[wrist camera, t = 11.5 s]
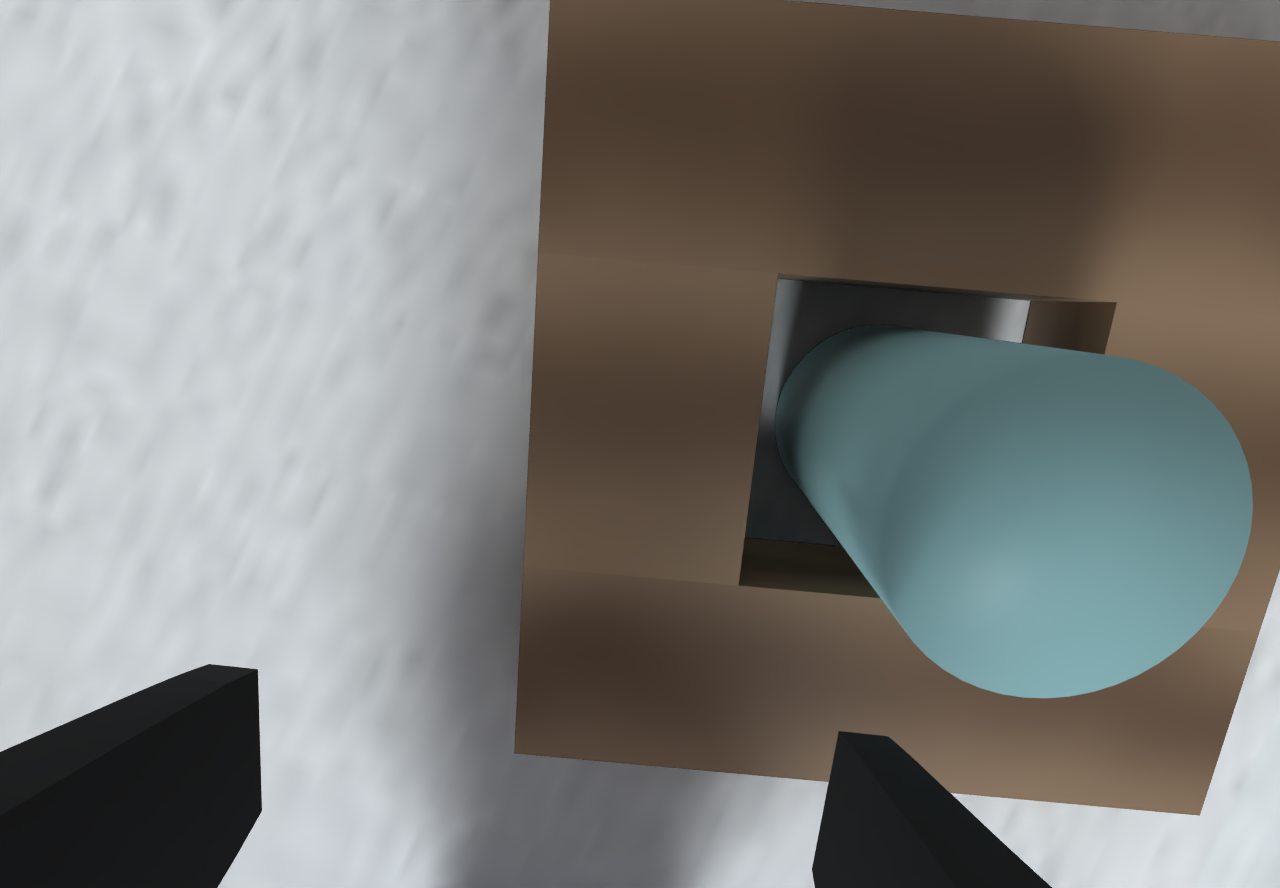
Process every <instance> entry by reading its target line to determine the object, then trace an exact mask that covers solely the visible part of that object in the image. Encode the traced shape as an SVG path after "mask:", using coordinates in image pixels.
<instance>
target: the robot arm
mask: <svg viewBox="0 0 1280 888" xmlns="http://www.w3.org/2000/svg"><path fill="white" fill-rule="evenodd" d="M261 811H262V800H261V766H260V731H259V696H258V669H249V668H240V667H230V666H221V665H211V664H208V665H205V666H203V667H200V668H197V669H194V670H191V671H188V672H186V673H183V674H180V675H178V676H175V677H173V678H170V679H168V680H165V681H163V682H161V683H158V684H156V685H153V686H151V687H149V688H146V689H144V690H142V691H139V692H137V693H135V694H132V695H130V696H128V697H125V698H123V699H121V700H118V701H116V702H114V703H111V704H109V705H107V706H105V707H102V708H100V709H98V710H95V711H93V712H91V713H89V714H86V715H84V716H82V717H79V718H77V719H75V720H73V721H70V722H68V723H66V724H63V725H61V726H59V727H57V728H54V729H52V730H50V731H47V732H45V733H43V734H41V735H38V736H36V737H34V738H31V739H29V740H27V741H24V742H22V743H20V744H18V745H15V746H13V747H11V748H8V749H6V750H4V751H2V752H0V888H217V887H218V885H219V884H220V882H221V881H222V879H223V877H224V876H225V874H226V872H227V871H228V869H229V867H230V866H231V864H232V862H233V861H234V859H235V857H236V856H237V854H238V852H239V850H240V849H241V847H242V845H243V843H244V841H245V840H246V838H247V836H248V834H249V833H250V831H251V829H252V827H253V826H254V824H255V822H256V820H257V818H258V817H259V815H260V813H261ZM812 872H813V878H814V884H815V888H1052V887H1051V886H1050V885H1048V884H1047V883H1046V882H1045V881H1044V880H1043V879H1042V878H1041V877H1040V876H1039V875H1037V874H1036V873H1035V872H1034V871H1033V870H1032V869H1031V868H1030V867H1029V866H1028V865H1026V864H1025V863H1024V862H1023V861H1022V860H1021V859H1020V858H1019V857H1018V856H1017V855H1016V854H1015V853H1013V852H1012V851H1011V850H1010V849H1009V848H1008V847H1007V846H1006V845H1005V844H1004V843H1003V842H1002V841H1000V840H999V839H998V838H997V837H996V836H995V835H994V834H993V833H992V832H991V831H990V830H989V829H988V828H987V827H986V826H984V825H983V824H982V823H981V822H980V821H979V820H978V819H977V818H976V817H975V816H974V815H973V814H972V813H971V812H970V811H969V810H968V809H966V808H965V807H964V806H963V805H962V804H961V803H960V802H959V801H958V800H957V799H956V798H955V797H954V796H953V795H952V794H951V793H950V792H949V791H947V790H946V789H945V788H944V787H943V786H942V785H941V784H940V783H939V782H938V781H937V780H936V779H935V778H934V777H933V776H932V775H931V774H930V773H928V772H927V771H926V770H925V769H924V768H923V767H922V766H921V765H920V764H919V763H918V762H917V761H916V760H915V759H913V758H912V757H911V756H910V755H909V754H908V753H907V752H906V751H905V750H904V749H902V748H901V747H900V746H899V745H898V744H897V743H896V742H894V741H893V740H892V739H891V738H890V737H888V736H882V735H872V734H863V733H853V732H844V731H839V732H838V737H837V742H836V747H835V752H834V758H833V763H832V768H831V773H830V779H829V784H828V789H827V794H826V799H825V805H824V810H823V815H822V820H821V825H820V831H819V836H818V841H817V846H816V852H815V857H814V862H813V867H812Z"/></svg>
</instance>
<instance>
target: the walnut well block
mask: <svg viewBox="0 0 1280 888" xmlns="http://www.w3.org/2000/svg"><path fill="white" fill-rule="evenodd" d="M777 279H786V280H798V281H809V282H821V283H832V284H844V285H856V286H867V287H879V288H891V289H902V290H914V291H925V292H937V293H949V294H960V295H972V296H983V297H995V298H1007V299H1018V300H1030V301H1031V306H1030V310H1029V315H1028V320H1027V324H1026V329H1025V334H1024V338H1023V344H1030V345H1038V346H1045V347H1052V348H1060V349H1067V350H1074V351H1082V352H1089V353H1096V354H1104V355H1111V356H1117V357H1124V358H1130V359H1135V360H1138V361H1141V362H1145V363H1148V364H1151V365H1155V366H1157V367H1159V368H1162V369H1164V370H1166V371H1168V372H1170V373H1172V374H1174V375H1177V376H1178V377H1180V378H1181V379H1183V380H1184V381H1186V382H1187V383H1189V384H1190V385H1192V386H1194V387H1195V388H1197V389H1198V390H1199V391H1200V392H1201V393H1202V394H1203V395H1204V396H1206V397H1207V398H1208V399H1209V400H1210V401H1211V402H1212V403H1213V404H1214V405H1215V406H1216V407H1217V408H1218V410H1219V411H1220V412H1221V414H1222V415H1223V416H1224V417H1225V419H1226V420H1227V421H1228V422H1229V424H1230V426H1231V428H1232V429H1233V431H1234V433H1235V435H1236V436H1237V438H1238V440H1239V442H1240V444H1241V447H1242V450H1243V452H1244V455H1245V458H1246V461H1247V463H1248V468H1249V473H1250V478H1251V483H1252V497H1253V513H1252V523H1251V532H1250V536H1249V540H1248V544H1247V549H1246V553H1245V555H1244V558H1243V561H1242V563H1241V566H1240V568H1239V571H1238V574H1237V576H1236V578H1235V580H1234V582H1233V583H1232V585H1231V587H1230V589H1229V591H1228V593H1227V595H1226V596H1225V598H1224V599H1223V601H1222V602H1221V603H1220V605H1219V606H1218V608H1217V609H1216V611H1215V612H1214V613H1213V615H1212V616H1211V617H1210V618H1209V619H1208V621H1207V622H1206V623H1205V624H1204V625H1203V626H1202V627H1201V628H1200V630H1199V631H1198V632H1197V633H1196V634H1195V635H1194V636H1193V637H1192V638H1190V639H1189V640H1188V641H1187V642H1186V643H1185V644H1184V645H1183V646H1181V647H1180V648H1179V649H1178V650H1177V651H1175V652H1174V653H1173V654H1171V655H1170V656H1168V657H1167V658H1166V659H1164V660H1163V661H1161V662H1160V663H1159V664H1157V665H1155V666H1153V667H1152V668H1150V669H1148V670H1146V671H1145V672H1143V673H1141V674H1139V675H1137V676H1135V677H1133V678H1131V679H1128V680H1126V681H1124V682H1121V683H1119V684H1117V685H1114V686H1111V687H1107V688H1104V689H1101V690H1098V691H1095V692H1090V693H1085V694H1080V695H1075V696H1070V697H1057V698H1024V697H1017V696H1010V695H1004V694H999V693H996V692H992V691H989V690H985V689H981V688H979V687H977V686H974V685H972V684H970V683H967V682H965V681H962V680H960V679H959V678H957V677H955V676H954V675H952V674H950V673H949V672H947V671H945V670H943V669H942V668H941V667H940V666H938V665H937V664H936V663H934V662H933V661H932V660H931V659H929V658H928V657H927V656H926V655H925V654H924V653H923V652H922V651H921V650H920V649H919V648H918V647H917V646H916V645H915V644H914V643H913V641H912V640H911V639H910V637H909V636H908V635H907V633H906V632H905V631H904V629H903V628H902V626H901V625H900V624H899V622H898V621H897V620H896V618H895V617H894V616H893V614H892V613H891V612H890V610H889V609H888V607H887V606H886V605H885V603H884V602H883V601H882V599H881V598H880V597H879V595H878V594H877V592H876V591H875V590H874V588H873V587H872V586H871V584H870V583H869V582H868V580H867V579H866V577H865V576H864V575H863V573H862V572H861V571H860V569H859V568H858V567H857V565H856V564H855V563H854V561H853V560H852V558H851V557H850V556H849V554H848V553H847V552H846V550H845V549H844V548H843V546H831V545H820V544H809V543H797V542H786V541H775V540H763V539H752V538H745V530H746V522H747V515H748V507H749V499H750V491H751V483H752V475H753V467H754V460H755V452H756V444H757V436H758V428H759V420H760V412H761V405H762V397H763V389H764V381H765V373H766V365H767V357H768V350H769V342H770V334H771V326H772V318H773V310H774V302H775V295H776V287H777ZM1279 570H1280V42H1278V41H1266V40H1254V39H1242V38H1230V37H1218V36H1206V35H1194V34H1182V33H1170V32H1158V31H1146V30H1134V29H1122V28H1110V27H1098V26H1086V25H1074V24H1062V23H1050V22H1038V21H1026V20H1014V19H1002V18H990V17H979V16H967V15H955V14H943V13H931V12H919V11H907V10H895V9H883V8H871V7H859V6H847V5H835V4H823V3H811V2H799V1H787V0H550V13H549V34H548V55H547V76H546V97H545V118H544V140H543V161H542V182H541V203H540V224H539V245H538V266H537V287H536V308H535V329H534V351H533V372H532V393H531V414H530V435H529V456H528V477H527V498H526V519H525V540H524V561H523V583H522V604H521V625H520V646H519V667H518V688H517V709H516V730H515V751H514V753H516V754H527V755H539V756H550V757H561V758H572V759H583V760H594V761H605V762H616V763H627V764H638V765H649V766H660V767H671V768H682V769H693V770H704V771H715V772H726V773H737V774H748V775H759V776H770V777H781V778H792V779H803V780H814V781H825V782H829V779H830V773H831V768H832V763H833V758H834V752H835V747H836V742H837V737H838V732H839V731H844V732H853V733H863V734H872V735H882V736H888V737H890V738H891V739H892V740H893V741H894V742H896V743H897V744H898V745H899V746H900V747H901V748H902V749H904V750H905V751H906V752H907V753H908V754H909V755H910V756H911V757H912V758H913V759H915V760H916V761H917V762H918V763H919V764H920V765H921V766H922V767H923V768H924V769H925V770H926V771H927V772H928V773H930V774H931V775H932V776H933V777H934V778H935V779H936V780H937V781H938V782H939V783H940V784H941V785H942V786H943V787H944V788H945V789H946V790H947V791H949V792H950V793H958V794H969V795H980V796H991V797H1002V798H1013V799H1024V800H1035V801H1046V802H1057V803H1068V804H1079V805H1090V806H1101V807H1112V808H1123V809H1134V810H1145V811H1156V812H1167V813H1178V814H1189V815H1200V813H1201V810H1202V807H1203V804H1204V801H1205V798H1206V794H1207V791H1208V788H1209V785H1210V782H1211V779H1212V776H1213V773H1214V770H1215V767H1216V764H1217V761H1218V758H1219V754H1220V751H1221V748H1222V745H1223V742H1224V739H1225V736H1226V733H1227V730H1228V727H1229V724H1230V721H1231V718H1232V715H1233V711H1234V708H1235V705H1236V702H1237V699H1238V696H1239V693H1240V690H1241V687H1242V684H1243V681H1244V678H1245V675H1246V671H1247V668H1248V665H1249V662H1250V659H1251V656H1252V653H1253V650H1254V647H1255V644H1256V641H1257V638H1258V635H1259V632H1260V628H1261V625H1262V622H1263V619H1264V616H1265V613H1266V610H1267V607H1268V604H1269V601H1270V598H1271V595H1272V592H1273V588H1274V585H1275V582H1276V579H1277V576H1278V573H1279Z"/></svg>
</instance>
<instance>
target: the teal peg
mask: <svg viewBox="0 0 1280 888" xmlns="http://www.w3.org/2000/svg"><path fill="white" fill-rule="evenodd" d="M775 433H776V441H777V446H778V450H779V453H780V456H781V459H782V461H783V463H784V465H785V467H786V469H787V471H788V472H789V474H790V475H791V477H792V478H793V479H794V481H795V482H796V484H797V485H798V486H799V488H800V489H801V490H802V492H803V493H804V494H805V496H806V497H807V499H808V500H809V501H810V503H811V504H812V505H813V507H814V508H815V509H816V511H817V512H818V514H819V515H820V516H821V518H822V519H823V520H824V522H825V523H826V524H827V526H828V527H829V528H830V530H831V531H832V533H833V534H834V535H835V537H836V538H837V539H838V541H839V542H840V543H841V545H842V546H843V548H844V549H845V550H846V552H847V553H848V554H849V556H850V557H851V558H852V560H853V561H854V563H855V564H856V565H857V567H858V568H859V569H860V571H861V572H862V573H863V575H864V576H865V577H866V579H867V580H868V582H869V583H870V584H871V586H872V587H873V588H874V590H875V591H876V592H877V594H878V595H879V597H880V598H881V599H882V601H883V602H884V603H885V605H886V606H887V607H888V609H889V610H890V612H891V613H892V614H893V616H894V617H895V618H896V620H897V621H898V622H899V624H900V625H901V626H902V628H903V629H904V631H905V632H906V633H907V635H908V636H909V637H910V639H911V640H912V641H913V643H914V644H915V645H916V646H917V647H918V648H919V649H920V650H921V651H922V652H923V653H924V654H925V655H926V656H927V657H928V658H929V659H931V660H932V661H933V662H934V663H936V664H937V665H938V666H940V667H941V668H942V669H943V670H945V671H947V672H949V673H950V674H952V675H954V676H955V677H957V678H959V679H960V680H962V681H965V682H967V683H970V684H972V685H974V686H977V687H979V688H981V689H985V690H989V691H992V692H996V693H999V694H1004V695H1010V696H1017V697H1024V698H1057V697H1070V696H1075V695H1080V694H1085V693H1090V692H1095V691H1098V690H1101V689H1104V688H1107V687H1111V686H1114V685H1117V684H1119V683H1121V682H1124V681H1126V680H1128V679H1131V678H1133V677H1135V676H1137V675H1139V674H1141V673H1143V672H1145V671H1146V670H1148V669H1150V668H1152V667H1153V666H1155V665H1157V664H1159V663H1160V662H1161V661H1163V660H1164V659H1166V658H1167V657H1168V656H1170V655H1171V654H1173V653H1174V652H1175V651H1177V650H1178V649H1179V648H1180V647H1181V646H1183V645H1184V644H1185V643H1186V642H1187V641H1188V640H1189V639H1190V638H1192V637H1193V636H1194V635H1195V634H1196V633H1197V632H1198V631H1199V630H1200V628H1201V627H1202V626H1203V625H1204V624H1205V623H1206V622H1207V621H1208V619H1209V618H1210V617H1211V616H1212V615H1213V613H1214V612H1215V611H1216V609H1217V608H1218V606H1219V605H1220V603H1221V602H1222V601H1223V599H1224V598H1225V596H1226V595H1227V593H1228V591H1229V589H1230V587H1231V585H1232V583H1233V582H1234V580H1235V578H1236V576H1237V574H1238V571H1239V568H1240V566H1241V563H1242V561H1243V558H1244V555H1245V553H1246V549H1247V544H1248V540H1249V536H1250V532H1251V523H1252V513H1253V497H1252V483H1251V478H1250V473H1249V468H1248V463H1247V461H1246V458H1245V455H1244V452H1243V450H1242V447H1241V444H1240V442H1239V440H1238V438H1237V436H1236V435H1235V433H1234V431H1233V429H1232V428H1231V426H1230V424H1229V422H1228V421H1227V420H1226V419H1225V417H1224V416H1223V415H1222V414H1221V412H1220V411H1219V410H1218V408H1217V407H1216V406H1215V405H1214V404H1213V403H1212V402H1211V401H1210V400H1209V399H1208V398H1207V397H1206V396H1204V395H1203V394H1202V393H1201V392H1200V391H1199V390H1198V389H1197V388H1195V387H1194V386H1192V385H1190V384H1189V383H1187V382H1186V381H1184V380H1183V379H1181V378H1180V377H1178V376H1177V375H1174V374H1172V373H1170V372H1168V371H1166V370H1164V369H1162V368H1159V367H1157V366H1155V365H1151V364H1148V363H1145V362H1141V361H1138V360H1135V359H1130V358H1124V357H1117V356H1111V355H1104V354H1096V353H1089V352H1082V351H1074V350H1067V349H1060V348H1052V347H1045V346H1038V345H1030V344H1023V343H1015V342H1008V341H1001V340H993V339H986V338H979V337H971V336H964V335H957V334H949V333H942V332H935V331H927V330H920V329H913V328H905V327H898V326H891V325H868V326H860V327H856V328H852V329H848V330H846V331H843V332H840V333H838V334H835V335H834V336H832V337H830V338H828V339H826V340H824V341H823V342H821V343H820V344H819V345H817V346H816V347H814V348H813V349H812V350H811V351H810V352H809V353H808V354H806V355H805V356H804V357H803V358H802V360H801V361H800V362H799V363H798V364H797V365H796V367H795V368H794V369H793V371H792V373H791V374H790V376H789V377H788V379H787V381H786V383H785V385H784V387H783V389H782V392H781V395H780V398H779V401H778V405H777V410H776V418H775Z"/></svg>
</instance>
